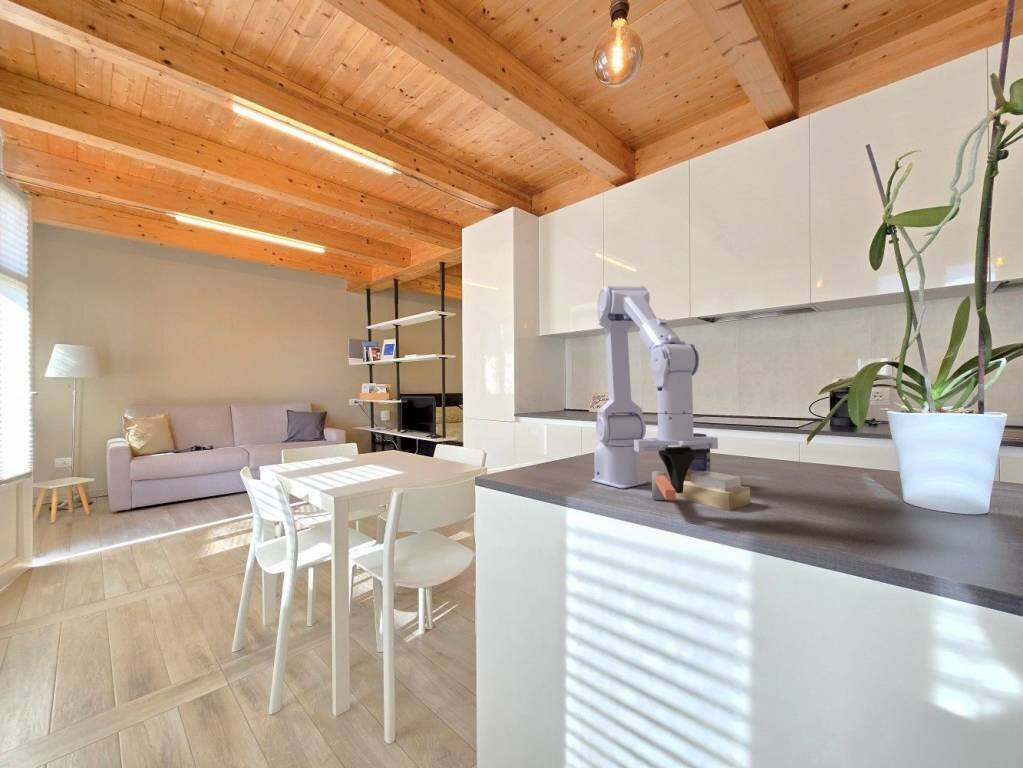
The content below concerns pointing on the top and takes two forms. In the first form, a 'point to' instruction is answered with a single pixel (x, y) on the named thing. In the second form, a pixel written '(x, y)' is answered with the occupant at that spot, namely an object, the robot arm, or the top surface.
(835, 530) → the top surface
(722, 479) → the grey slanted block
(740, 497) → the body
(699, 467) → the pill bottle
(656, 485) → the hammer
